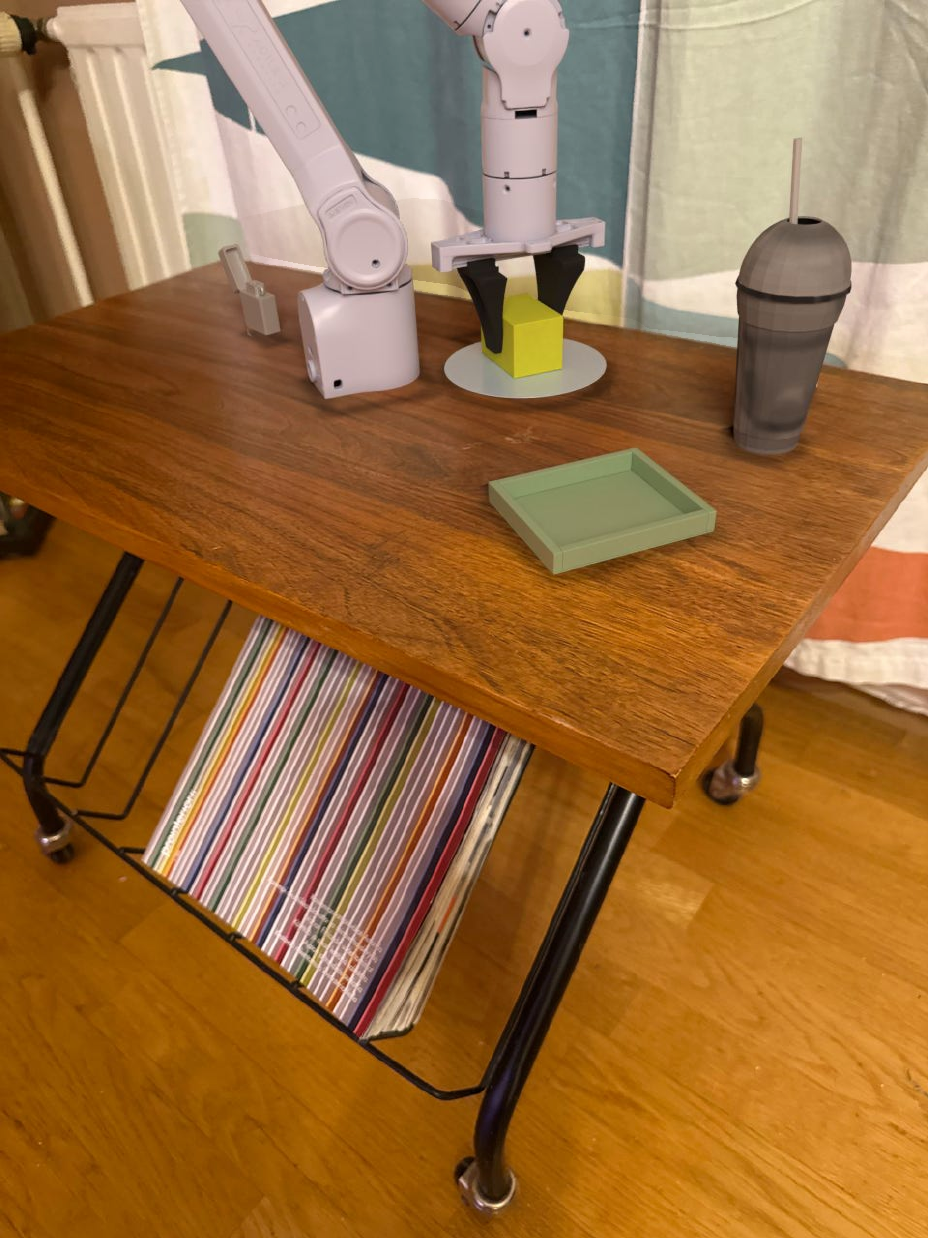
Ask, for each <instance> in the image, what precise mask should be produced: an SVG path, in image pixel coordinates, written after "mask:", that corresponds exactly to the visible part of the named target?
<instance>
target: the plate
mask: <svg viewBox="0 0 928 1238" xmlns="http://www.w3.org/2000/svg"><path fill="white" fill-rule="evenodd" d="M607 367H608V364H607V359H606V358H605V357H604V355H603V354H602V353H601V352H599V350H597V349H595V348H594V347H591V345H588V344H585V343H582V342H579V341H578V340H577V341H576V340H573V339H568V338H564V337H563V357H562V369H559V370H554V371H549V372H545V373H540V374H535V375H530V376H525V377H520V378H515V379H514V378H513V377H512V376H511V375H509V374H508V373H507V372H506V371H505V370H503V369H502V368H501V367H500V366H499V365H497V364H496V363H495V362H494V361H493V360H491V359H490V358H489V357H488V356H486V355H485V354H484V353H483V352H482V342H481V341H478V342H474V343H473V344H469V345H467V346H465V347H462V348H461V349H459V350H457V351H455V352H453V353H452V354H451V355H450V356H448V358H447V359H446V361H445V363H444V366H443V372H444V374H445V376H446V378H447V379H448V380H449V381H450V382H452V384H454V385H456V386H458V387H459V388H461V389H464V390H467V391H469V392H472V393H475V394H480V395H484V396H491V397H494V398H495V397H496V398H507V399H531V398H532V399H533V398H535V399H537V398H545V397H553V396H558V395H563V394H568V393H572V392H575V391H579V390H581V389H583V388H585V387H588V386H590V385H592V384H593V383H595V382H597V381H598V380H599V379H600V378H601V377H603V375H604V374H605V373H606V370H607Z"/></svg>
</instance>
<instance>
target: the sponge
mask: <svg viewBox="0 0 928 1238" xmlns="http://www.w3.org/2000/svg"><path fill="white" fill-rule="evenodd" d="M480 338H481V339H480V342H482V352H483V353H484V354H485V355H486V356H488V357H489V358H490V359H491V360H493V361H494V362H495V363H496V364H497V365H499V366H500V367H501V368H502V369H503V370H505V371H506V372H507V373H508V374H509V375H511V376H512V377H513V378H514V379H515V378H520V377H525V376H530V375H535V374H540V373H545V372H549V371H554V370H559V369H562V357H563V338H564V316H563V315H560V314H559V313H557V312H556V311H554V310H553V309H551V308H550V307H548V306H546V305H545V304H543V303H542V302H540V301H539V300H538V298H536V297H534V296H532V295H531V294H529V293H528V292H524V293H519V294H514V295H508V296H504V304H503V346H502V353H499V354H494V353H493V352H491V351H490V350H489V349H488V348H487V347H486V344H485V339H484V335H483V330H482V327H481V326H480Z"/></svg>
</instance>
